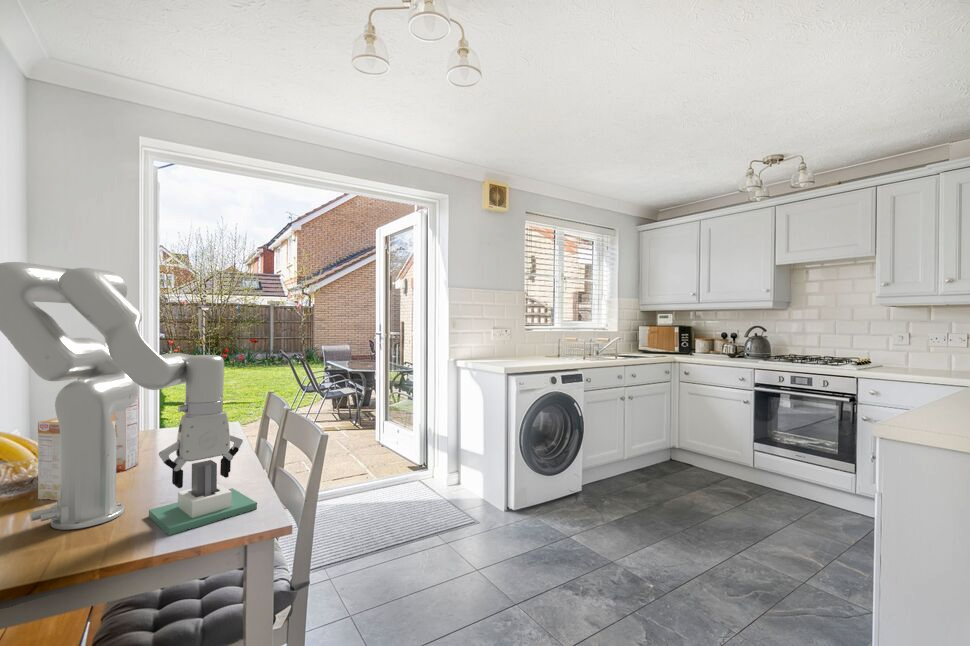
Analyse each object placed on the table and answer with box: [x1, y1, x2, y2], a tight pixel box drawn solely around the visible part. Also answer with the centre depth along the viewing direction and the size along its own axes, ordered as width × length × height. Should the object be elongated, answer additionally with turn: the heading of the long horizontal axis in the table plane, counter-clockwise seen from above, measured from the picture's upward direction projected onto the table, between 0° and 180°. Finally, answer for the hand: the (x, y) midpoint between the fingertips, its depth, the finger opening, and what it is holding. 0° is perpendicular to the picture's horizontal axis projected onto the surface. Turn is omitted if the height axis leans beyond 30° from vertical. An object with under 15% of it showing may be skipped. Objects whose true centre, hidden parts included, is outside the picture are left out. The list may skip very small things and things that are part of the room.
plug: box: [191, 459, 218, 497], centre depth 107 cm, size 4×5×10 cm
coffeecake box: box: [37, 413, 115, 501], centre depth 121 cm, size 15×7×20 cm, turn 174°
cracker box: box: [115, 397, 140, 472], centre depth 137 cm, size 14×6×21 cm, turn 92°
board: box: [148, 487, 258, 536], centre depth 108 cm, size 18×14×2 cm
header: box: [177, 482, 232, 518], centre depth 107 cm, size 8×9×4 cm
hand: (202, 481), depth 108 cm, fingers open, 9 cm apart
